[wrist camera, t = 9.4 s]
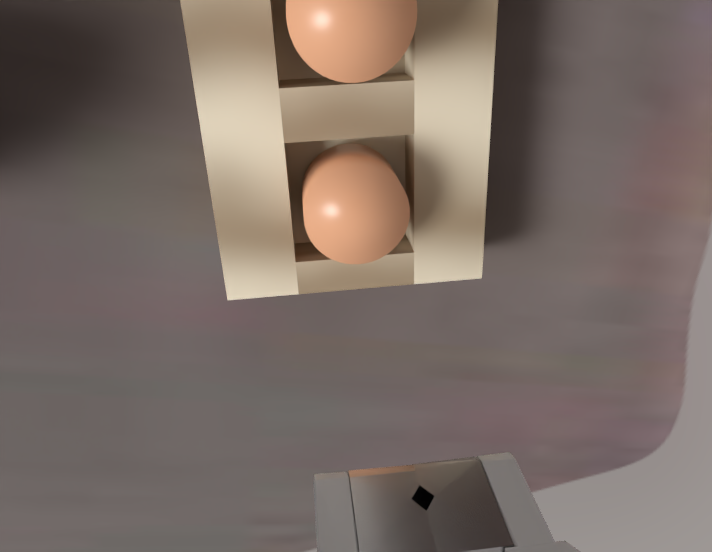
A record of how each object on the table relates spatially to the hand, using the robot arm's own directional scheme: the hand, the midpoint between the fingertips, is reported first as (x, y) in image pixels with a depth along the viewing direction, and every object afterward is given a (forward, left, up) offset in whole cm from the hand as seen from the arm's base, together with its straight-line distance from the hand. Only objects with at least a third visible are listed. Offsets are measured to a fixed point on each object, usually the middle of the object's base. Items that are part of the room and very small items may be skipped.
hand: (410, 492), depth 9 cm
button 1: (+1, +1, -17) cm, 17 cm away
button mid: (-6, +1, -16) cm, 17 cm away
